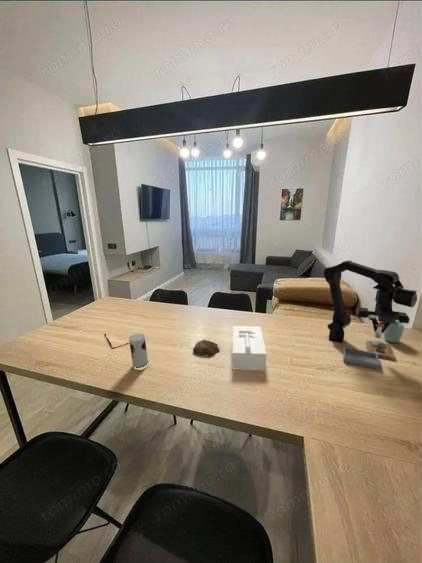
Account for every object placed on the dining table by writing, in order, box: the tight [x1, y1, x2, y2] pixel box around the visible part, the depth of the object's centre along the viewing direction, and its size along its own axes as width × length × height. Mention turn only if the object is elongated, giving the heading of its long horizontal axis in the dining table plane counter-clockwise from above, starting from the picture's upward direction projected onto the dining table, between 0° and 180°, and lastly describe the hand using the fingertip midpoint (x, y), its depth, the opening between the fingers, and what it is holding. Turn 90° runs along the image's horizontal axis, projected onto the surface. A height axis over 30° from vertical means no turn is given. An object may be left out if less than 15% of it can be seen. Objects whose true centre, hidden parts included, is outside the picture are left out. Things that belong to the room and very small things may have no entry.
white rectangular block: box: [232, 325, 267, 371], centre depth 117 cm, size 14×25×11 cm, turn 174°
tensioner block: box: [365, 340, 396, 361], centre depth 117 cm, size 10×12×3 cm
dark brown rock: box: [192, 339, 220, 357], centre depth 122 cm, size 13×12×5 cm
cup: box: [382, 320, 405, 344], centre depth 124 cm, size 8×8×10 cm
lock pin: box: [374, 320, 385, 339], centre depth 110 cm, size 3×3×8 cm
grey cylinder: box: [129, 333, 149, 368], centre depth 109 cm, size 7×7×15 cm
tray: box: [342, 346, 381, 371], centre depth 110 cm, size 14×10×2 cm
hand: (378, 331), depth 110 cm, fingers closed on lock pin, 2 cm apart
